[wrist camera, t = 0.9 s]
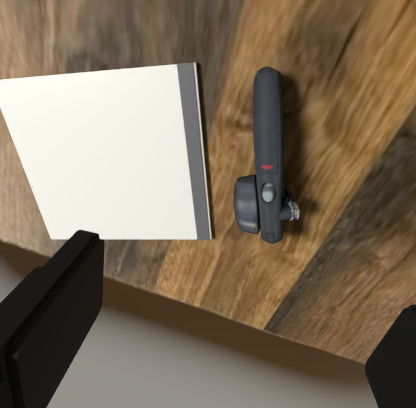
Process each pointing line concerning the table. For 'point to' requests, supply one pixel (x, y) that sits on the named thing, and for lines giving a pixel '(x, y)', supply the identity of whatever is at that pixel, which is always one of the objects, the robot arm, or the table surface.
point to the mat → (113, 151)
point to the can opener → (266, 166)
